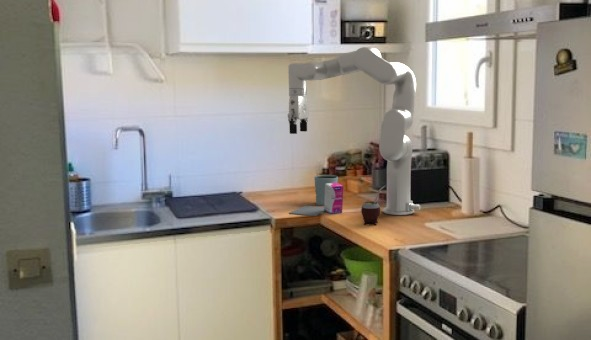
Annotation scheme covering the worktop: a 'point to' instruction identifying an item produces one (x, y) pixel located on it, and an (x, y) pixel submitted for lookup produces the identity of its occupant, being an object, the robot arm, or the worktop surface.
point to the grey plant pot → (323, 186)
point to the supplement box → (333, 198)
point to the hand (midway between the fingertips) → (298, 132)
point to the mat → (308, 210)
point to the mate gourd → (371, 211)
